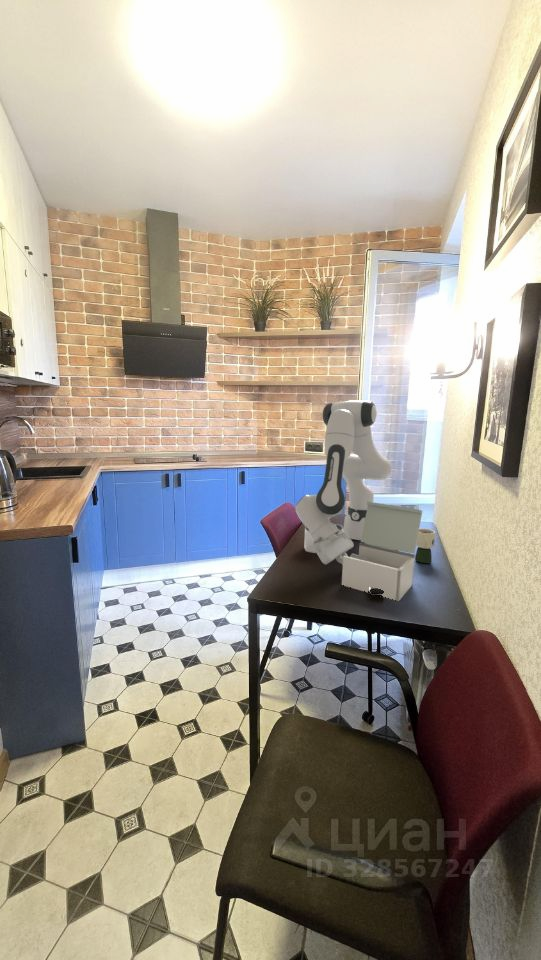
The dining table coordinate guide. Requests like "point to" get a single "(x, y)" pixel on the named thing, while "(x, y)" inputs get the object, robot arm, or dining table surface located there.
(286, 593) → the dining table surface
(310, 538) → the jar
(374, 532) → the cover
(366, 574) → the channel
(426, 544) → the character mug
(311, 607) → the dining table surface
